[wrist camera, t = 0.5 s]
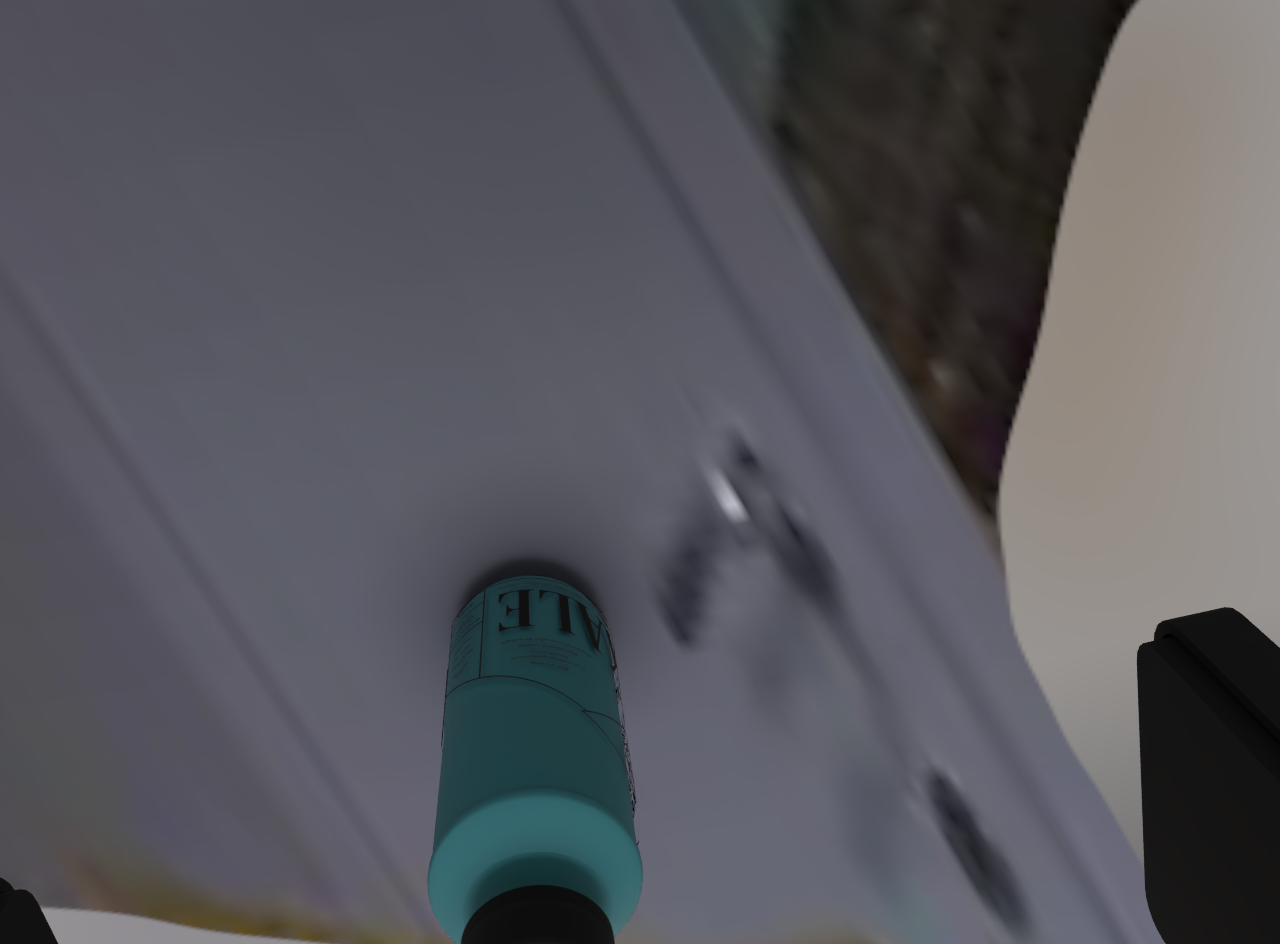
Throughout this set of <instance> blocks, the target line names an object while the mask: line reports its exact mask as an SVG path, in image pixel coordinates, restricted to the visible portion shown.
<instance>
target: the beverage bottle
mask: <svg viewBox="0 0 1280 944" xmlns="http://www.w3.org/2000/svg"><path fill="white" fill-rule="evenodd" d="M586 597H587V596H586ZM586 597H585V595H584V594H583V593H581V592H580V591H578V590H577V589H575V588H574V587H572V586H570V585H568V584H566V583H564V582H562V581H559V580H556V579H552V578H548V577H543V576H519V577H513V578H509V579H505V580H502V581H500V582H497V583H495V584H493V585H491V586H489V587H488V588H486V589H485V590H483V591H482V592H480V593H479V594H477V595H476V596H475V597H473V598H474V599H473V598H472V599H473V600H472V599H471V600H472V601H471V600H470V601H471V602H470V601H469V602H470V603H469V602H468V603H469V604H468V603H467V604H468V605H467V604H466V605H467V606H466V607H465V606H464V607H465V609H464V610H463V611H462V613H461V614H460V616H459V617H458V620H457V622H456V624H455V626H454V629H453V633H452V634H451V644H450V655H449V666H448V670H447V681H446V692H447V693H445V701H446V703H445V705H446V706H444V713H445V719H444V718H443V726H444V743H443V750H442V752H443V753H442V763H441V774H440V784H439V794H438V804H437V814H436V824H435V834H434V845H433V854H432V857H431V861H430V865H429V872H428V895H429V901H430V904H431V907H432V910H433V913H434V915H435V917H436V918H437V920H438V922H439V924H440V926H441V927H442V928H443V930H444V931H445V933H446V934H447V935H448V936H449V937H450V938H451V939H452V940H453V941H454V942H455V943H456V944H615V943H614V937H615V936H616V935H617V934H618V933H619V932H620V931H621V930H622V929H623V928H624V926H625V925H626V924H627V922H628V921H629V919H630V918H631V916H632V914H633V913H634V911H635V908H636V906H637V903H638V901H639V897H640V893H641V889H642V881H643V870H642V861H641V856H640V852H639V849H638V846H637V845H638V843H639V841H638V843H637V844H636V837H635V830H634V821H633V818H634V815H633V812H634V808H635V804H636V803H637V802H636V800H635V799H636V797H635V796H634V793H635V791H633V797H634V800H635V803H634V807H633V809H632V805H633V800H632V802H631V797H632V795H630V791H631V789H630V785H629V782H630V783H632V782H631V781H630V780H631V779H633V777H632V776H633V774H631V779H630V780H629V781H628V775H629V773H628V774H627V772H628V771H627V766H626V759H625V756H626V757H627V755H628V754H627V755H626V752H624V749H626V750H627V749H629V748H624V746H625V745H626V746H627V747H628V739H627V741H626V742H627V744H625V743H624V742H625V741H623V739H625V738H624V737H625V736H624V735H625V734H623V733H626V732H625V731H624V732H623V733H622V730H621V727H622V728H624V727H623V725H622V726H621V723H620V717H619V710H618V702H619V701H618V702H617V695H616V694H618V695H620V693H621V692H620V693H617V691H619V690H618V688H617V687H616V688H617V690H616V688H615V685H616V683H615V681H614V674H613V671H614V673H615V669H616V667H617V664H616V663H615V660H616V658H615V656H614V654H615V651H614V648H613V649H612V645H611V640H610V635H609V633H608V631H607V629H606V626H607V624H606V623H605V622H604V621H603V620H604V619H603V617H602V616H601V615H600V614H599V612H598V611H597V609H596V608H595V607H594V605H593V604H592V603H591V602H590V601H589V600H588V599H589V598H588V597H587V598H588V599H587V598H586ZM464 607H463V608H464ZM596 607H597V606H596ZM463 608H462V609H463ZM597 608H598V607H597ZM462 609H461V610H462ZM598 609H599V608H598ZM600 612H601V611H600ZM459 613H460V612H459ZM459 613H458V614H459ZM601 613H602V612H601ZM603 616H604V615H603ZM456 617H457V616H456ZM604 618H605V617H604ZM455 619H456V618H455ZM455 619H454V620H455ZM606 621H607V620H606ZM453 622H454V621H453ZM604 623H605V624H606V626H605V624H604ZM607 623H608V622H607ZM452 628H453V625H452ZM607 628H608V626H607ZM609 628H610V627H609ZM608 630H609V629H608ZM609 632H610V631H609ZM611 637H612V636H611ZM609 643H610V645H609ZM613 645H614V644H613ZM610 647H611V651H612V655H613V659H614V663H615V665H614V666H613V667H612V661H613V659H612V660H611V653H610ZM613 651H614V653H613ZM617 673H618V671H617ZM615 675H616V674H615ZM616 680H617V679H616ZM618 680H619V678H618ZM618 680H617V683H618ZM619 687H620V685H619ZM621 699H622V698H621ZM621 699H620V701H621ZM621 704H622V703H621ZM622 706H623V705H622ZM623 714H624V712H623ZM623 719H624V716H623ZM621 720H622V719H621ZM624 721H625V720H624ZM622 724H623V722H622ZM623 730H624V729H623ZM622 735H623V736H624V737H623V738H622ZM626 736H627V735H626ZM442 739H443V731H442ZM623 744H624V745H623ZM441 746H442V744H441ZM627 752H629V751H628V750H627ZM628 756H629V757H630V755H628ZM629 757H628V758H629ZM629 761H630V760H629ZM627 762H628V759H627ZM628 763H629V762H628ZM630 763H631V761H630ZM630 763H629V764H628V767H629V772H630V765H631V764H630ZM631 769H632V768H631ZM631 772H632V771H631ZM629 777H630V776H629ZM633 782H634V780H633ZM633 785H634V783H633ZM633 785H632V787H633ZM634 789H635V787H634V788H633V790H634ZM637 808H638V807H637Z"/></svg>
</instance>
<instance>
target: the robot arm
mask: <svg viewBox="0 0 1280 944" xmlns="http://www.w3.org/2000/svg"><path fill="white" fill-rule="evenodd" d="M1137 678H1138V706H1139V731H1140V732H1139V733H1140V758H1141V787H1142V813H1143V814H1142V815H1143V842H1144V870H1145V891H1146V898H1147V902H1148V907H1149V910H1150V913H1151V916H1152V919H1153V921H1154V923H1155V926H1156V928H1157V930H1158V932H1159V933H1160V935H1161V937H1162V939H1163V940H1164V942H1165V943H1166V944H1280V648H1279V647H1278V646H1277V645H1276V644H1275V643H1274V642H1272V641H1271V640H1270V639H1269V638H1268V637H1267V636H1266V635H1265V634H1264V633H1262V632H1261V631H1260V630H1259V629H1258V628H1257V627H1256V626H1255V625H1253V624H1252V623H1251V622H1250V621H1249V620H1248V619H1247V618H1246V617H1245V616H1243V615H1242V614H1241V613H1240V612H1238V611H1236V610H1235V609H1233V608H1226V607H1224V608H1219V609H1215V610H1210V611H1206V612H1201V613H1197V614H1192V615H1187V616H1183V617H1178V618H1174V619H1170V620H1165V621H1162V622H1161V623H1159V624H1158V625H1157V628H1156V631H1155V633H1154V641H1151V642H1147V643H1143V644H1142V645H1140V647H1139V649H1138V652H1137ZM0 944H58V942H57V941H56V939H55V936H54V934H53V932H52V930H51V928H50V926H49V924H48V922H47V920H46V918H45V916H44V914H43V912H42V910H41V908H40V906H39V904H38V902H37V901H36V899H35V898H34V896H33V895H32V894H31V893H30V892H28V891H27V890H21V889H19V890H14V889H13V887H12V886H11V885H10V883H8V882H7V881H5V880H4V879H3V878H0Z"/></svg>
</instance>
